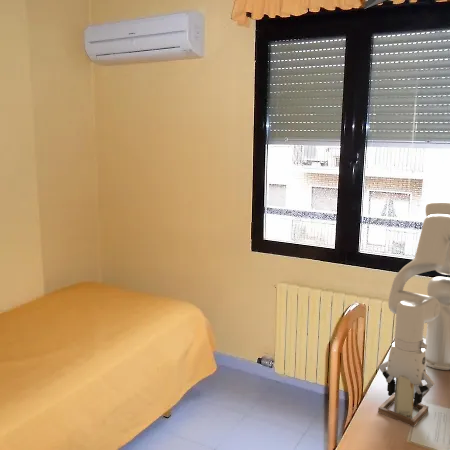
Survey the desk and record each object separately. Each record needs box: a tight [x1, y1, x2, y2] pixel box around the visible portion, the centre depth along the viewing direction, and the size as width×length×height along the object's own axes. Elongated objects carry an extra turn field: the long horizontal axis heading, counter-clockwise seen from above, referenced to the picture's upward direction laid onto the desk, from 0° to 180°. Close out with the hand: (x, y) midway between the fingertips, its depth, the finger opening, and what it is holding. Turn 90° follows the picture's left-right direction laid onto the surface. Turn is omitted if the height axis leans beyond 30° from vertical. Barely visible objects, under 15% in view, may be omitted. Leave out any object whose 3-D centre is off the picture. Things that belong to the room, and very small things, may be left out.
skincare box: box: [393, 376, 414, 419], centre depth 141 cm, size 6×4×12 cm
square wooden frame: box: [377, 393, 429, 428], centre depth 142 cm, size 11×11×2 cm
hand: (404, 398), depth 141 cm, fingers open, 7 cm apart
